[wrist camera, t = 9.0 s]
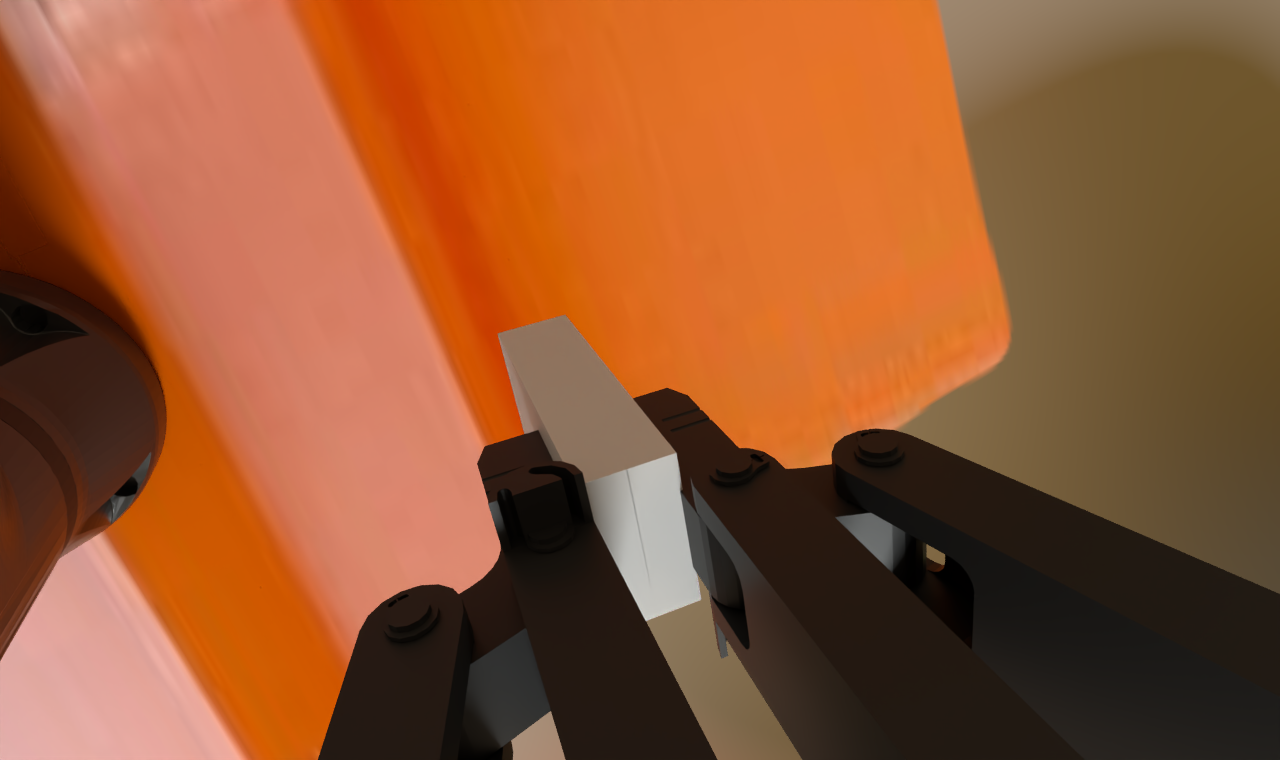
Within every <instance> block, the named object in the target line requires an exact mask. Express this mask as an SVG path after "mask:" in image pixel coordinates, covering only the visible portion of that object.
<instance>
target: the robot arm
mask: <svg viewBox="0 0 1280 760" xmlns="http://www.w3.org/2000/svg"><path fill="white" fill-rule="evenodd" d="M498 337H499V341H500V344H501V348H502V352H503V355H504V359H505V363H506V367H507V370H508V374H509V378H510V382H511V385H512V389H513V393H514V396H515V400H516V404H517V408H518V411H519V415H520V419H521V422H522V426H523V430H524V434H523V435H520V436H517V437H514V438H511V439H507V440H504V441H501V442H498V443H494V444H491V445H488V446H485V447H484V449H483V451H482V454H481V456H480V458H479V461H478V463H477V465H478V468H479V471H480V475H481V478H482V481H483V485H484V488H485V492H486V495H487V498H488V505H489V508H490V511H491V514H492V518H493V521H494V524H495V527H496V531H497V534H498V537H499V540H500V544H501V551H500V555H499V558H498V560H497V562H496V563H495V565H494V567H493V568H492V569H491V570H490V571H489V572H488V573H487V574H486V576H485V577H484V578H483V579H481V580H480V581H478V582H477V583H476V584H474V585H473V586H471V587H470V588H468V589H467V590H465V591H463V592H462V593H460V594H458V593H457V592H456V591H455V590H454V589H453V588H449V587H446V586H442V585H439V584H437V585H421V586H417V587H414V588H411V589H408V590H405V591H402V592H399V593H398V594H396V595H394V596H393V597H391V598H389V599H387V600H386V601H384V602H382V603H381V604H380V605H379V606H378V607H377V608H376V609H375V610H374V611H373V612H372V613H371V614H370V615H369V616H368V617H367V619H366V621H365V622H364V624H363V626H362V628H361V629H360V631H359V634H358V638H357V641H356V644H355V647H354V650H353V653H352V656H351V659H350V662H349V665H348V668H347V671H346V675H345V678H344V681H343V684H342V687H341V690H340V693H339V696H338V699H337V702H336V705H335V708H334V712H333V715H332V718H331V721H330V724H329V727H328V730H327V733H326V736H325V739H324V742H323V745H322V749H321V752H320V755H319V758H318V760H513V749H512V742H511V740H512V739H513V738H515V737H516V736H517V735H519V734H520V733H521V732H523V731H524V730H525V729H527V728H528V727H529V726H531V725H532V724H534V723H535V722H536V721H538V720H539V719H540V718H541V717H543V716H544V715H546V714H547V713H548V712H550V711H551V712H552V716H553V719H554V722H555V726H556V729H557V732H558V736H559V739H560V742H561V746H562V749H563V752H564V756H565V759H566V760H717V758H716V756H715V754H714V752H713V750H712V748H711V746H710V744H709V742H708V741H707V739H706V737H705V735H704V733H703V731H702V729H701V727H700V725H699V723H698V721H697V719H696V717H695V716H694V713H693V712H692V710H691V708H690V706H689V704H688V702H687V700H686V698H685V696H684V694H683V692H682V690H681V688H680V686H679V684H678V682H677V681H676V679H675V677H674V675H673V673H672V671H671V669H670V667H669V665H668V663H667V661H666V659H665V657H664V655H663V653H662V651H661V650H660V648H659V646H658V644H657V642H656V640H655V638H654V636H653V634H652V632H651V630H650V628H649V626H648V624H647V622H646V621H647V620H650V619H652V618H655V617H657V616H660V615H663V614H665V613H668V612H670V611H673V610H676V609H678V608H681V607H683V606H686V605H689V604H691V603H694V602H697V601H699V600H701V596H700V590H699V583H698V577H697V574H698V575H699V577H700V578H701V580H702V581H703V583H704V585H705V586H706V588H707V589H708V590H709V595H710V602H711V608H712V614H713V620H714V626H715V632H716V639H717V645H718V649H719V652H720V656H721V658H724V657H726V656H728V654H727V647H726V641H728V642H729V644H730V645H731V647H732V648H733V650H734V652H735V653H736V655H737V656H738V658H739V660H740V661H741V663H742V664H743V666H744V668H745V669H746V671H747V672H748V674H749V676H750V677H751V678H752V680H753V682H754V683H755V685H756V687H757V688H758V690H759V691H760V693H761V694H762V696H763V698H764V699H765V701H766V703H767V704H768V706H769V707H770V709H771V710H772V712H773V713H774V715H775V717H776V718H777V720H778V721H779V723H780V725H781V726H782V728H783V730H784V731H785V733H786V734H787V736H788V737H789V739H790V741H791V742H792V744H793V745H794V747H795V749H796V750H797V752H798V753H799V755H800V756H801V758H802V760H1280V594H1278V593H1276V592H1274V591H1271V590H1269V589H1267V588H1264V587H1262V586H1260V585H1258V584H1255V583H1253V582H1251V581H1248V580H1246V579H1243V578H1241V577H1239V576H1236V575H1234V574H1232V573H1230V572H1227V571H1225V570H1223V569H1220V568H1218V567H1216V566H1213V565H1211V564H1209V563H1206V562H1204V561H1202V560H1199V559H1197V558H1195V557H1192V556H1190V555H1188V554H1186V553H1183V552H1181V551H1179V550H1176V549H1174V548H1172V547H1169V546H1167V545H1164V544H1162V543H1160V542H1158V541H1155V540H1153V539H1151V538H1148V537H1146V536H1144V535H1141V534H1139V533H1137V532H1134V531H1132V530H1130V529H1127V528H1125V527H1122V526H1120V525H1118V524H1116V523H1114V522H1111V521H1109V520H1106V519H1104V518H1102V517H1100V516H1097V515H1094V514H1092V513H1090V512H1088V511H1086V510H1083V509H1081V508H1079V507H1076V506H1074V505H1072V504H1069V503H1067V502H1065V501H1062V500H1060V499H1058V498H1055V497H1053V496H1051V495H1048V494H1046V493H1044V492H1042V491H1039V490H1037V489H1035V488H1032V487H1030V486H1028V485H1025V484H1023V483H1020V482H1018V481H1016V480H1014V479H1011V478H1009V477H1007V476H1004V475H1002V474H1000V473H997V472H995V471H993V470H990V469H988V468H986V467H983V466H981V465H979V464H976V463H974V462H972V461H970V460H967V459H965V458H963V457H960V456H958V455H955V454H953V453H951V452H949V451H946V450H944V449H942V448H939V447H937V446H935V445H932V444H930V443H928V442H925V441H923V440H921V439H918V438H916V437H914V436H911V435H908V434H905V433H902V432H899V431H895V430H886V429H869V430H862V431H857V432H855V433H852V434H849V435H847V436H844V437H843V438H842V439H841V440H839V441H838V442H837V443H836V444H835V445H834V448H833V451H832V464H831V465H823V466H816V467H808V468H797V469H785V468H784V467H783V466H782V465H781V464H780V463H779V462H778V461H777V460H776V459H775V458H773V457H771V456H770V455H768V454H766V453H765V452H763V451H758V450H754V449H750V448H738V447H737V446H736V445H735V444H734V443H733V442H732V441H731V439H730V438H729V437H728V436H727V435H726V434H725V433H724V432H723V431H722V430H721V429H720V428H719V427H718V426H717V425H716V424H715V423H714V422H713V421H712V420H710V419H709V417H708V416H707V415H706V414H705V413H704V412H703V411H702V410H700V408H699V407H698V406H697V405H696V404H695V403H694V401H693V400H692V399H691V398H690V397H689V396H688V395H685V394H682V393H680V392H677V391H674V390H671V389H669V388H665V389H662V390H659V391H655V392H652V393H649V394H646V395H643V396H639V397H636V398H632V397H631V396H630V395H629V393H628V392H627V391H626V390H625V388H624V387H623V386H622V385H621V383H620V382H619V381H618V380H617V378H616V377H615V376H614V375H613V373H612V372H611V371H610V370H609V368H608V367H607V366H606V365H605V364H604V362H603V361H602V360H601V359H600V357H599V356H598V355H597V354H596V352H595V351H594V350H593V349H592V347H591V346H590V345H589V344H588V342H587V341H586V340H585V339H584V337H583V336H582V335H581V334H580V332H579V331H578V330H577V329H576V328H575V326H574V325H573V324H572V323H571V321H570V320H569V319H568V318H567V316H566V315H563V316H559V317H555V318H552V319H548V320H545V321H541V322H537V323H534V324H530V325H527V326H523V327H519V328H516V329H512V330H509V331H505V332H501V333H498ZM165 434H166V408H165V401H164V397H163V393H162V389H161V387H160V384H159V381H158V379H157V376H156V374H155V372H154V370H153V368H152V366H151V364H150V363H149V361H148V359H147V358H146V356H145V355H144V353H143V352H142V351H141V349H140V348H139V347H138V345H137V344H136V343H135V342H134V341H133V340H132V338H131V337H130V336H129V335H128V334H127V333H126V332H125V331H124V330H123V329H122V328H121V327H120V326H119V325H118V324H116V323H115V322H114V321H113V320H112V319H110V318H109V317H108V316H107V315H105V314H104V313H103V312H101V311H100V310H98V309H97V308H95V307H94V306H92V305H91V304H89V303H88V302H86V301H84V300H82V299H81V298H79V297H77V296H75V295H73V294H71V293H69V292H67V291H65V290H63V289H61V288H58V287H56V286H54V285H51V284H49V283H46V282H43V281H40V280H38V279H34V278H31V277H28V276H24V275H20V274H16V273H12V272H7V271H1V270H0V661H1V659H2V657H3V655H4V654H5V652H6V650H7V649H8V647H9V645H10V643H11V642H12V640H13V638H14V636H15V635H16V633H17V631H18V629H19V628H20V626H21V624H22V622H23V621H24V619H25V617H26V615H27V614H28V612H29V610H30V609H31V607H32V605H33V603H34V602H35V600H36V598H37V596H38V595H39V593H40V591H41V589H42V588H43V586H44V584H45V582H46V581H47V579H48V577H49V576H50V574H51V572H52V570H53V569H54V567H55V565H56V563H57V561H58V559H59V558H61V557H62V556H64V555H66V554H67V553H69V552H70V551H72V550H74V549H75V548H77V547H78V546H80V545H82V544H83V543H85V542H86V541H88V540H90V539H91V538H93V537H94V536H96V535H98V534H99V533H101V532H102V531H104V530H105V529H106V528H108V527H109V526H110V525H112V524H113V523H114V522H115V521H116V520H117V519H119V518H120V517H121V516H122V515H123V514H124V513H125V512H126V511H127V510H128V509H129V508H130V506H131V505H132V504H133V503H134V502H135V500H136V499H137V498H138V497H139V495H140V494H141V492H142V491H143V489H144V487H145V486H146V484H147V482H148V480H149V478H150V476H151V474H152V472H153V470H154V468H155V466H156V464H157V462H158V459H159V457H160V454H161V451H162V448H163V444H164V440H165ZM926 544H928V545H929V546H931V547H933V548H935V549H937V550H938V551H940V552H942V553H944V554H945V565H941V564H938V563H936V562H934V561H932V560H930V559H929V558H927V557H926Z"/></svg>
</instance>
